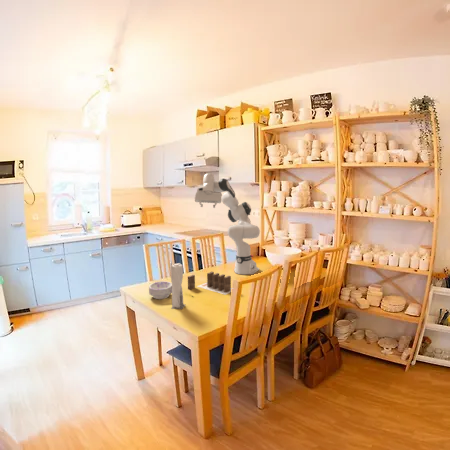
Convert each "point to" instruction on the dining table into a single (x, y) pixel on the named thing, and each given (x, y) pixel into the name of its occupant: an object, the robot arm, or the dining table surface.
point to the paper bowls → (160, 289)
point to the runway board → (213, 289)
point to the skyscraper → (177, 286)
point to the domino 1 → (191, 282)
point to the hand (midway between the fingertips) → (207, 207)
